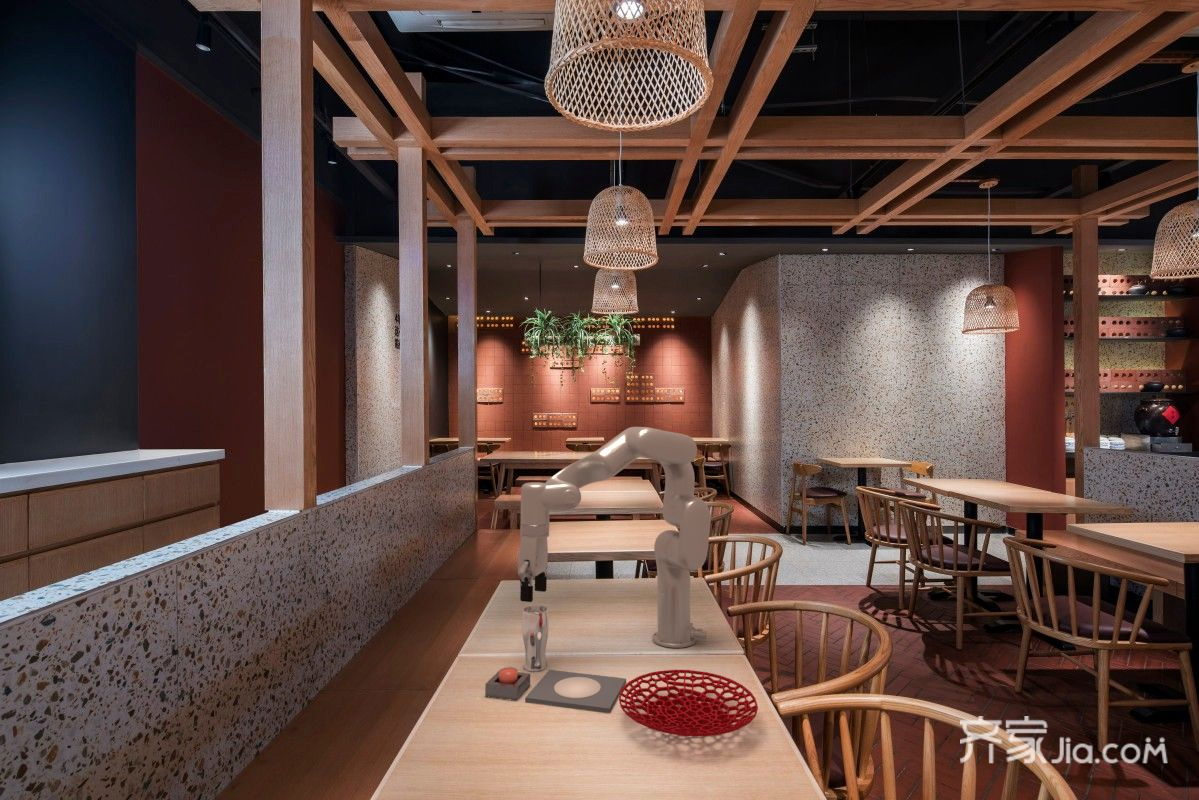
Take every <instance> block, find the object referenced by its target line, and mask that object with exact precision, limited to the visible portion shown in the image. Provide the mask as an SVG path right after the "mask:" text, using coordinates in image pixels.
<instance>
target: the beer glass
mask: <svg viewBox="0 0 1199 800" xmlns="http://www.w3.org/2000/svg"><path fill="white" fill-rule="evenodd" d="M521 617H522V619H521V630H522V631H521V632H522V640H523V644H524V645H523V646H524V651H525V653H524V654H525V655H524V656H525V657H524V663H523V669H525V671H528V672H534V673H535V672H541V671H544V670H546V669H547V667H548V661H547V657H546V656H547V655H546V650H547V645H548V644H547V643H548V637H549V628H550V621H549V608H548V607H547V606H544V605H538V604H534V605H528V606H525V607H524V608H523V609H522V616H521Z"/></svg>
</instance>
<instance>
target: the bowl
mask: <svg viewBox="0 0 1199 800" xmlns="http://www.w3.org/2000/svg"><path fill="white" fill-rule="evenodd" d="M679 674H683V675H679ZM687 674H690V676H687ZM661 675H662V676H661ZM696 675H699V676H696ZM653 676H656V677H657V678H654V677H653ZM674 676H676V677H674ZM649 677H650V678H649ZM646 678H649V679H646ZM714 678H716V679H714ZM678 680H683V682H681V681H678ZM686 680H687V681H690V682H691V683H690V682H686ZM705 680H707V681H709V682H707V681H705ZM696 681H701V682H697V683H696ZM724 681H725V682H724ZM651 682H653V683H651ZM658 682H662V683H664V684H666V686H660V687H659V686H658V685H657V683H658ZM694 682H695V683H694ZM634 683H636V684H634ZM633 684H634V685H633ZM642 684H648V687H642V686H641V685H642ZM730 684H733V685H734V686H730ZM628 687H630V688H629V689H628ZM679 687H683V688H679ZM707 687H712V688H713V689H708V688H707ZM637 688H638V689H637ZM651 688H655V689H654V690H652V689H651ZM690 688H691V689H690ZM694 688H702V689H703V691H697V690H695V689H694ZM726 688H727V689H726ZM717 689H722V691H721V692H718V691H717ZM739 689H742V691H737V690H739ZM671 691H675V692H676V693H675V692H671ZM624 692H626V694H625V693H624ZM659 692H667V695H659V694H658V693H659ZM645 693H649V694H648V695H646V694H645ZM686 694H688V695H686ZM708 694H714V695H716V698H714V697H711V696H708ZM725 694H731V695H732V696H727V697H725V696H724V695H725ZM629 695H630V696H629ZM622 697H623V698H624V699H623V698H622ZM639 697H642V698H643V699H640V698H639ZM748 697H751V700H748V699H747V698H748ZM652 698H655V699H656V700H651V699H652ZM627 699H628V700H629V701H628V700H627ZM741 699H744V701H740V700H741ZM756 699H757V698H756V697H755V695H754V694H753V692H751V691H750V690H749V689H748V688H747V687H745V686H744V685H743V684H741V683H740V682H737V681H735V680H734V679H732V678H729V677H726V676H723V675H720V674H716V673H712V672H708V671H699V670H694V669H692V670H691V669H666V670H665V669H664V670H657V671H651V672H648V673H645V674H642V675H639V676H637V677H635V678H633V679H631V680H629V681H628V682H626V684H625V686H623V688H622V690H621V691H620V695H619V697H618V701H619V707H620V708H621V709H622V711H623V713H624V715H626V716H627V717H629V718H630V719H631V720H632V721H634V722H636V723H637V724H639V725H641V726H643V727H645V728H648V729H650V730H653V731H657V732H660V733H665V734H668V735H675V736H682V737H700V738H701V737H712V736H713V737H714V736H720V735H724V734H729V733H733V732H735V731H738V730H740V729H742V728H743V727H746V726H748V725H749V724H750V723H751V722H752V721H753V720H754V719H755V718H756V715H757V713H758V710H759V705H758V703H757V700H756ZM732 701H734V702H736V705H731V706H729V705H728V704H727V703H728V702H732ZM622 703H623V704H622ZM636 703H638V704H636ZM753 703H754V705H753V706H751V705H752V704H753ZM740 706H743V707H740ZM739 707H740V708H739ZM639 710H642V711H643V712H645V713H641V712H640V711H639ZM732 711H733V712H734V711H736V713H730V712H732ZM746 713H747V714H746Z"/></svg>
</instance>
